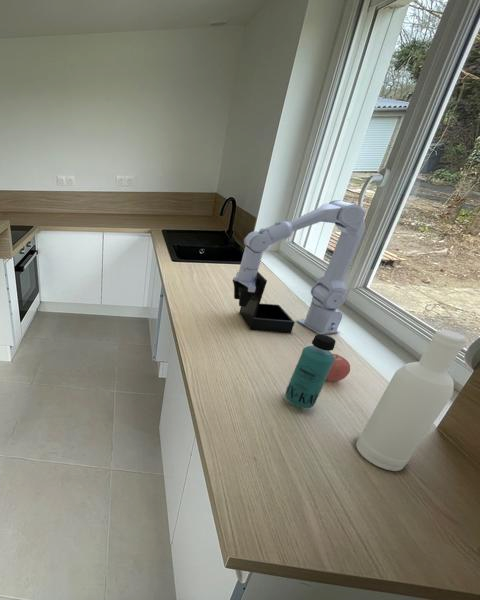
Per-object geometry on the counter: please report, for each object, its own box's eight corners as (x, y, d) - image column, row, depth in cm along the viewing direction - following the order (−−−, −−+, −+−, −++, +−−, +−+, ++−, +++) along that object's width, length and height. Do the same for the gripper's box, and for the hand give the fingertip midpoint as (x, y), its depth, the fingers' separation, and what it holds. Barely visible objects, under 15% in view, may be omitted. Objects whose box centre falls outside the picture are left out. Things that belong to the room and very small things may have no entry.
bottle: (356, 459, 67) (426, 337, 54) (353, 433, 73) (415, 318, 60) (407, 479, 63) (496, 353, 50) (399, 450, 69) (477, 331, 56)
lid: (253, 266, 117) (241, 265, 118) (267, 280, 105) (253, 279, 106) (243, 301, 123) (231, 300, 124) (255, 317, 111) (242, 316, 112)
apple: (329, 388, 86) (340, 364, 83) (305, 372, 93) (314, 349, 89) (350, 384, 88) (361, 360, 85) (325, 368, 95) (335, 345, 91)
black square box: (275, 315, 124) (278, 304, 122) (290, 333, 112) (294, 322, 110) (239, 312, 126) (241, 302, 124) (250, 330, 114) (253, 318, 112)
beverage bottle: (284, 391, 85) (309, 326, 76) (314, 403, 81) (344, 336, 73) (280, 405, 81) (305, 338, 72) (311, 418, 77) (342, 349, 68)
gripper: (231, 259, 118) (223, 293, 124) (243, 273, 105) (233, 310, 111) (251, 261, 117) (242, 294, 123) (266, 275, 104) (255, 312, 110)
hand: (239, 302), depth 117 cm, fingers closed on lid, 5 cm apart
